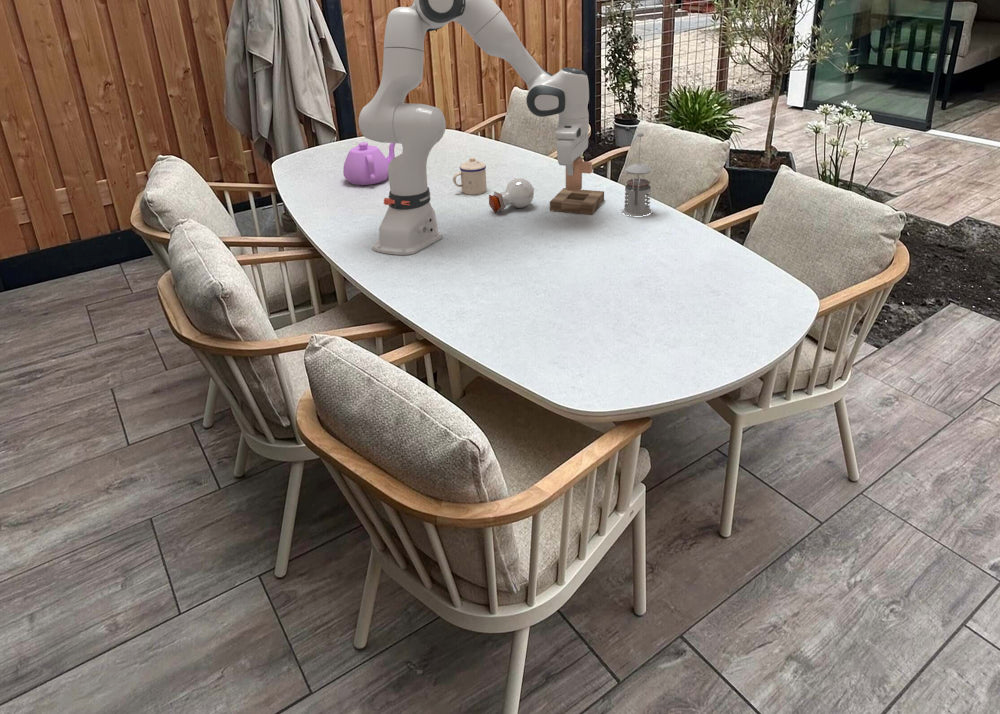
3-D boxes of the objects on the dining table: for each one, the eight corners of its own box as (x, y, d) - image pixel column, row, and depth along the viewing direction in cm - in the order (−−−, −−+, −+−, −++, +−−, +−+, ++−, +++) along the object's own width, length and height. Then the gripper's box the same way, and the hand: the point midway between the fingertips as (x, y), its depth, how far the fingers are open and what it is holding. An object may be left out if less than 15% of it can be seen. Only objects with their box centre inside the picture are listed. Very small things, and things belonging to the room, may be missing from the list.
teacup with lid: (481, 185, 271) (479, 152, 265) (491, 192, 264) (489, 159, 258) (449, 191, 267) (447, 158, 261) (459, 198, 260) (456, 164, 254)
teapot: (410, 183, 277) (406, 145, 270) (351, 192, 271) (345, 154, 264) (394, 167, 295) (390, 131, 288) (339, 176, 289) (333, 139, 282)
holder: (592, 214, 241) (592, 205, 239) (549, 210, 245) (549, 201, 244) (604, 200, 252) (604, 191, 250) (563, 196, 256) (563, 188, 255)
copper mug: (562, 190, 235) (562, 161, 230) (567, 184, 239) (567, 156, 234) (588, 192, 232) (589, 163, 227) (593, 186, 236) (593, 157, 232)
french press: (654, 207, 244) (658, 128, 231) (650, 220, 234) (654, 138, 221) (623, 206, 246) (626, 127, 233) (618, 218, 236) (620, 137, 224)
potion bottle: (536, 208, 252) (498, 223, 247) (521, 186, 255) (483, 200, 249) (543, 190, 244) (504, 206, 239) (527, 168, 247) (488, 183, 241)
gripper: (573, 116, 235) (573, 160, 242) (552, 134, 219) (553, 181, 226) (593, 117, 233) (592, 162, 240) (574, 135, 217) (573, 182, 224)
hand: (573, 171), depth 233 cm, fingers closed on copper mug, 5 cm apart
